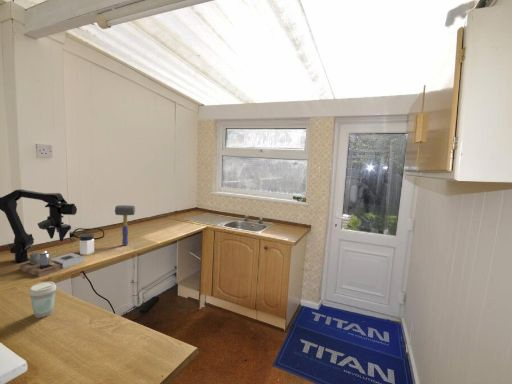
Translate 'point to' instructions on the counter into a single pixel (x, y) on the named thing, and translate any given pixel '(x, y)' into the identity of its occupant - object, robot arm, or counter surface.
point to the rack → (38, 266)
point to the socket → (67, 260)
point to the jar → (86, 244)
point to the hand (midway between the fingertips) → (56, 239)
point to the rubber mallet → (125, 219)
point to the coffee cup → (43, 298)
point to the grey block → (44, 260)
